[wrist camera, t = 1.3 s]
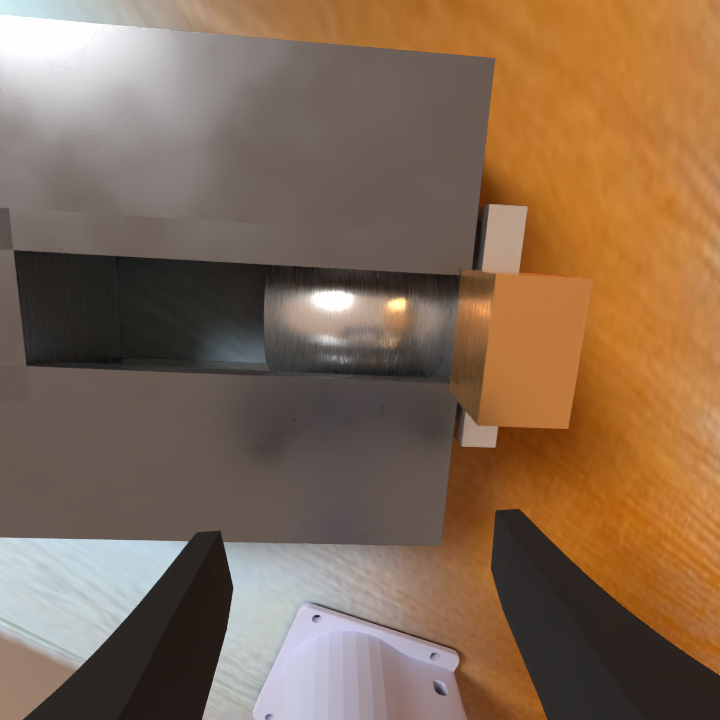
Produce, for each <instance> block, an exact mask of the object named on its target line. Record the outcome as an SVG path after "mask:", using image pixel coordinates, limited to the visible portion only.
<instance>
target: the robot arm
mask: <svg viewBox="0 0 720 720" xmlns="http://www.w3.org/2000/svg"><path fill="white" fill-rule="evenodd" d="M491 570H492V574H493V578H494V581H495V585H496V588H497V592H498V595H499V598H500V602H501V605H502V608H503V611H504V613H505V616H506V618H507V621H508V623H509V626H510V628H511V631H512V633H513V636H514V638H515V641H516V643H517V645H518V648H519V650H520V653H521V655H522V657H523V660H524V662H525V665H526V667H527V669H528V672H529V674H530V677H531V679H532V681H533V684H534V686H535V689H536V691H537V694H538V696H539V698H540V701H541V703H542V706H543V709H544V711H545V714H546V717H547V719H548V720H720V676H719V675H718V674H716V673H715V672H713V671H712V670H710V669H709V668H707V667H706V666H704V665H703V664H701V663H700V662H698V661H697V660H695V659H694V658H692V657H691V656H689V655H688V654H686V653H685V652H683V651H682V650H680V649H679V648H678V647H676V646H675V645H673V644H672V643H671V642H669V641H668V640H666V639H665V638H664V637H662V636H661V635H660V634H658V633H657V632H656V631H654V630H653V629H652V628H650V627H649V626H648V625H646V624H645V623H644V622H642V621H641V620H640V619H638V618H637V617H636V616H634V615H633V614H632V613H631V612H629V611H628V610H627V609H626V608H624V607H623V606H622V605H621V604H620V603H618V602H617V601H616V600H615V599H614V598H612V597H611V596H610V595H609V594H608V593H607V592H605V591H604V590H603V589H602V588H601V587H600V586H599V585H597V584H596V583H595V582H594V581H593V580H592V579H591V578H590V577H588V576H587V575H586V574H585V573H584V572H583V571H582V570H581V569H580V568H579V567H578V566H577V565H575V564H574V563H573V562H572V561H571V560H570V559H569V558H568V557H567V556H566V555H565V554H564V553H563V552H562V551H561V550H560V549H559V548H558V547H557V546H556V545H555V544H554V543H553V542H552V541H551V540H549V539H548V538H547V537H546V536H545V535H544V534H543V533H542V532H541V531H540V530H539V528H538V527H537V526H536V525H535V524H534V523H533V522H532V521H531V520H530V519H529V518H528V517H527V516H526V515H525V514H524V513H523V512H522V511H520V510H519V509H512V510H498V511H496V514H495V526H494V538H493V550H492V563H491ZM232 593H233V584H232V580H231V575H230V571H229V566H228V562H227V557H226V553H225V548H224V544H223V539H222V535H221V530H220V531H207V532H197V533H196V534H195V535H194V536H193V537H192V539H191V540H190V541H189V542H188V544H187V545H186V546H185V547H184V549H183V550H182V551H181V553H180V554H179V555H178V556H177V558H176V559H175V560H174V562H173V563H172V564H171V565H170V567H169V568H168V569H167V570H166V572H165V573H164V574H163V575H162V577H161V578H160V579H159V580H158V582H157V583H156V584H155V585H154V586H153V588H152V589H151V590H150V591H149V592H148V594H147V595H146V596H145V597H144V598H143V600H142V601H141V602H140V603H139V604H138V606H137V607H136V608H135V609H134V610H133V611H132V612H131V614H130V615H129V616H128V617H127V618H126V619H125V620H124V621H123V622H122V624H121V625H120V626H119V627H118V628H117V629H116V630H115V631H114V632H113V634H112V635H111V636H110V637H109V638H108V639H107V640H106V641H105V642H104V643H103V644H102V645H101V646H100V648H99V649H98V650H97V651H96V652H95V653H94V654H93V655H92V656H91V657H90V658H89V659H88V660H87V661H86V662H85V663H84V664H83V665H82V666H81V667H80V668H79V669H78V670H77V671H76V672H75V673H74V674H73V675H72V676H71V677H70V678H69V679H68V680H67V681H65V683H63V685H61V686H60V687H59V688H58V689H57V690H56V691H55V692H54V693H53V694H51V696H49V697H48V698H47V699H46V700H45V701H44V702H43V703H41V704H40V705H39V706H38V707H37V708H36V709H35V710H34V711H32V712H31V713H30V714H29V715H28V716H27V717H25V718H24V719H23V720H202V717H203V713H204V710H205V706H206V702H207V699H208V695H209V692H210V688H211V685H212V681H213V677H214V674H215V670H216V667H217V663H218V659H219V656H220V652H221V648H222V645H223V641H224V637H225V634H226V630H227V624H228V618H229V613H230V606H231V600H232ZM314 615H320V617H314ZM432 653H436V654H434V655H433V654H432ZM458 664H459V656H458V653H457V652H456V651H455V650H453V649H450V648H447V647H444V646H441V645H437V644H434V643H431V642H428V641H425V640H422V639H419V638H416V637H413V636H410V635H407V634H404V633H401V632H397V631H394V630H391V629H388V628H385V627H382V626H379V625H376V624H373V623H370V622H367V621H364V620H360V619H357V618H354V617H351V616H348V615H345V614H342V613H339V612H336V611H333V610H330V609H327V608H323V607H320V606H317V605H314V604H310V603H307V604H304V605H302V606H301V607H300V609H299V611H298V613H297V615H296V617H295V620H294V622H293V624H292V626H291V628H290V630H289V632H288V635H287V637H286V639H285V641H284V643H283V645H282V647H281V650H280V652H279V654H278V656H277V658H276V660H275V663H274V665H273V667H272V669H271V671H270V673H269V675H268V678H267V680H266V682H265V684H264V686H263V688H262V690H261V693H260V695H259V697H258V699H257V701H256V703H255V705H254V709H253V714H252V715H253V718H254V719H255V720H467V718H466V714H465V711H464V707H463V703H462V700H461V696H460V693H459V689H458V685H457V682H456V678H455V675H454V671H455V669H456V668H457V666H458Z"/></svg>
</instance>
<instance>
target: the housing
mask: <svg viewBox="0 0 720 720" xmlns="http://www.w3.org/2000/svg"><path fill="white" fill-rule="evenodd" d="M494 64H495V58H487V57H476V56H464V55H453V54H441V53H430V52H418V51H407V50H395V49H383V48H372V47H360V46H349V45H337V44H326V43H314V42H303V41H291V40H280V39H268V38H257V37H245V36H234V35H222V34H211V33H199V32H188V31H176V30H165V29H153V28H142V27H130V26H119V25H107V24H96V23H84V22H72V21H61V20H49V19H38V18H26V17H15V16H3V15H0V537H9V538H59V539H110V540H160V541H190V540H191V539H192V537H193V536H194V535H195V534H196V533H197V532H207V531H220V530H221V535H222V539H223V542H261V543H311V544H362V545H412V546H441V542H442V533H443V524H444V515H445V506H446V497H447V488H448V479H449V470H450V461H451V452H452V443H453V434H454V425H455V416H456V407H457V400H456V399H455V397H454V396H453V395H452V394H451V392H450V391H449V385H450V379H448V378H425V377H402V376H378V375H355V374H331V373H308V372H284V371H270V370H269V369H268V366H267V364H265V363H242V362H219V361H196V360H173V359H150V358H127V357H122V345H121V329H120V313H119V297H118V281H117V265H116V256H126V257H144V258H162V259H179V260H197V261H214V262H232V263H250V264H267V265H285V266H302V267H320V268H338V269H355V270H373V271H391V272H408V273H426V274H443V275H461V271H462V269H468V270H472V262H473V253H474V244H475V235H476V226H477V217H478V208H479V199H480V190H481V181H482V172H483V163H484V154H485V145H486V136H487V127H488V118H489V109H490V100H491V91H492V82H493V73H494Z"/></svg>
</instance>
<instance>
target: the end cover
mask: <svg viewBox="0 0 720 720" xmlns="http://www.w3.org/2000/svg"><path fill="white" fill-rule="evenodd" d="M527 208H528V207H527V206H512V205H497V204H488V205H485V206H482V207H479V208H478V217H477V226H476V235H475V244H474V253H473V262H472V270H468V269H462V271H461V275H443V274H426V273H408V272H391V271H373V270H355V269H338V268H320V267H302V266H285V265H267V273H266V283H265V298H264V343H265V354H266V361H267V366H268V369H269V370H270V371H284V372H308V373H331V374H355V375H378V376H402V377H425V378H448V379H450V385H449V391H450V392H451V394H452V395H453V396H454V397H455V399H456V400H457V407H456V416H455V425H454V436H455V437H456V439H457V440H458V442H459V443H460V445H461V446H463V447H493V448H495V447H496V440H497V432H498V426H502V427H529V428H557V429H568V427H569V421H570V415H571V409H572V403H573V398H574V392H575V386H576V380H577V374H578V368H579V363H580V357H581V351H582V345H583V339H584V333H585V328H586V322H587V316H588V310H589V304H590V298H591V293H592V287H593V281H594V279H586V278H576V277H567V276H557V275H547V274H537V273H520V272H519V268H520V261H521V253H522V246H523V238H524V231H525V223H526V216H527Z"/></svg>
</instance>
